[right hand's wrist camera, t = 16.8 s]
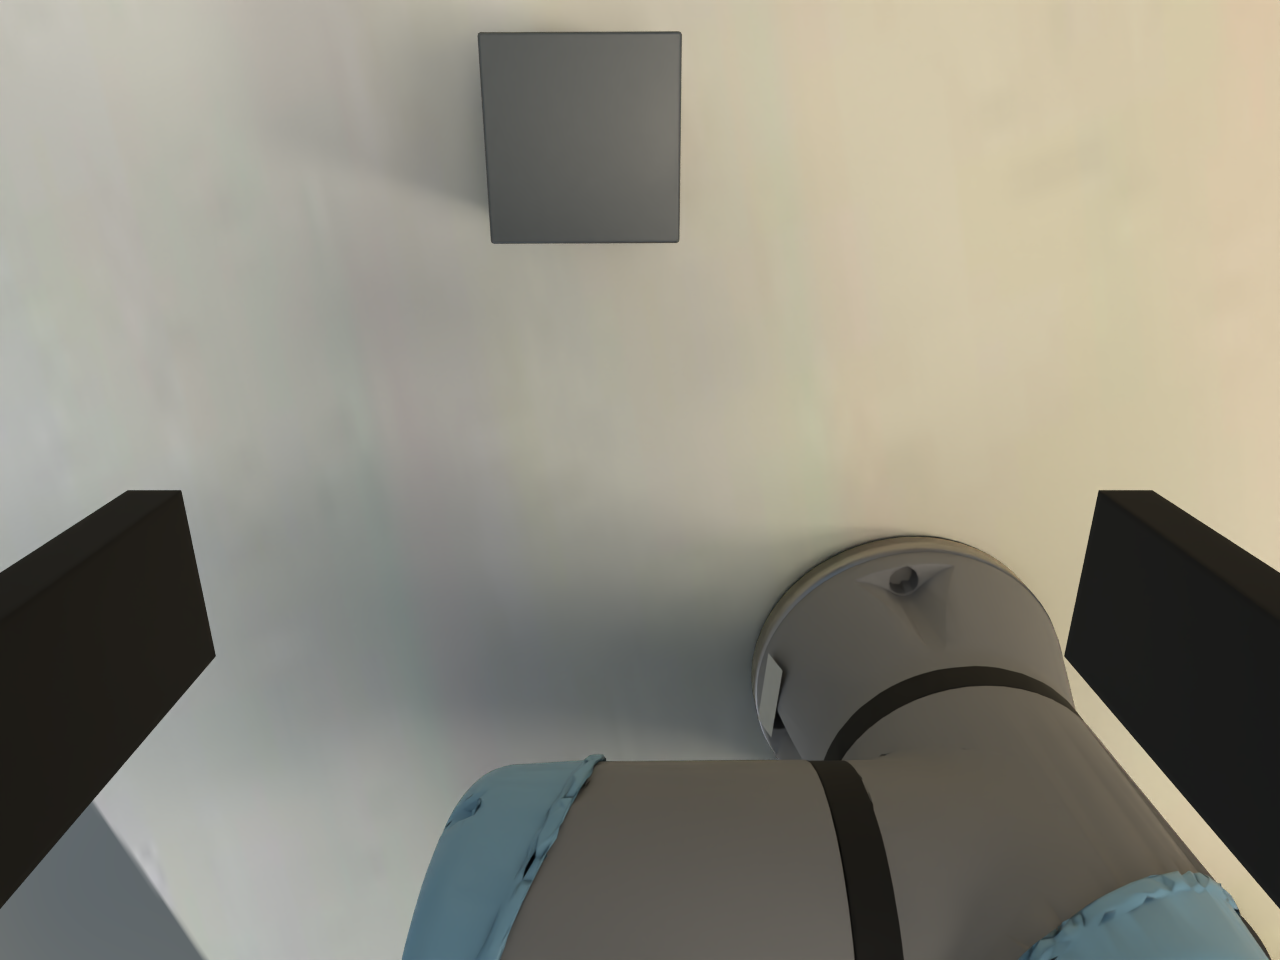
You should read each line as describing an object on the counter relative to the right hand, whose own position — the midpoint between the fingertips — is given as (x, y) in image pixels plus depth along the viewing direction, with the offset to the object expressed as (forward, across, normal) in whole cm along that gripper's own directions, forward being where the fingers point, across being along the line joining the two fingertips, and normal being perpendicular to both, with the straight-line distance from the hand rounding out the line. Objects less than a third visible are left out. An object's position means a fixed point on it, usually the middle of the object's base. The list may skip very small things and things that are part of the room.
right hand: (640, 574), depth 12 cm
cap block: (+27, +2, -6) cm, 27 cm away
